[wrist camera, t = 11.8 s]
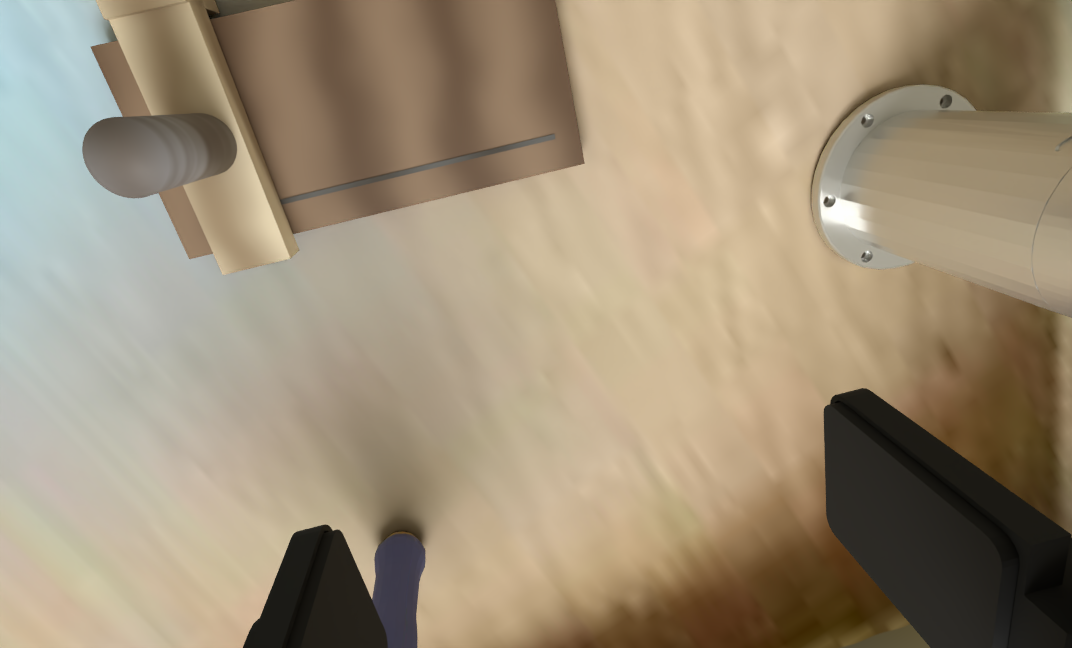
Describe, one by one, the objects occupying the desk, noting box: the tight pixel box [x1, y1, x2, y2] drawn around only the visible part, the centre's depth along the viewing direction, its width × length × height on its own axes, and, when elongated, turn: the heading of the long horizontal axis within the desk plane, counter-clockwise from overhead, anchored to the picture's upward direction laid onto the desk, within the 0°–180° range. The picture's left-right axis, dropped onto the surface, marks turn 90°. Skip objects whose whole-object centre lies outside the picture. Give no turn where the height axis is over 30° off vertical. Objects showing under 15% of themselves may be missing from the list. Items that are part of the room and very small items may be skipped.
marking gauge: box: [82, 0, 299, 275], centre depth 29 cm, size 4×15×12 cm, turn 12°
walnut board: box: [91, 0, 584, 259], centre depth 34 cm, size 25×12×2 cm, turn 102°
